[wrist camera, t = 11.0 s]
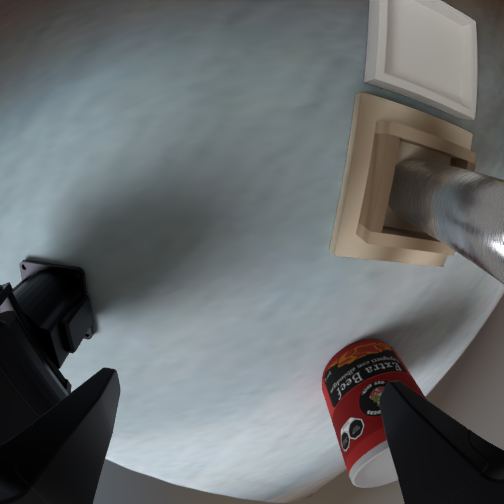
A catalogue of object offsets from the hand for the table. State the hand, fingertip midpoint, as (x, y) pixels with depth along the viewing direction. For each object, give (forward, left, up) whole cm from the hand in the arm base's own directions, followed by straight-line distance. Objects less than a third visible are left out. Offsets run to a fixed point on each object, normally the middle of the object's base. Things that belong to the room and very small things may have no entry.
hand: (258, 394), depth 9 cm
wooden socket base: (+11, +6, -13) cm, 18 cm away
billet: (+11, +6, -12) cm, 17 cm away
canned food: (+12, -11, -13) cm, 21 cm away
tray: (+11, +17, -13) cm, 24 cm away
